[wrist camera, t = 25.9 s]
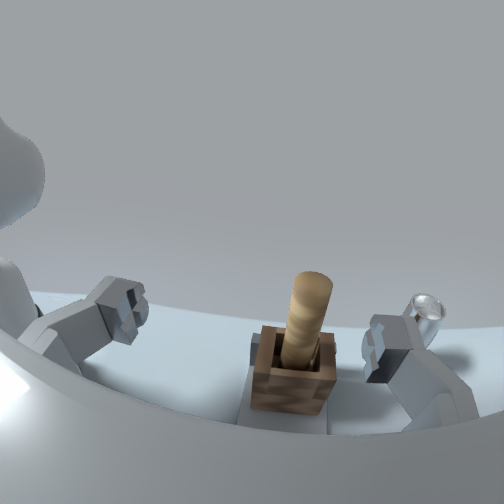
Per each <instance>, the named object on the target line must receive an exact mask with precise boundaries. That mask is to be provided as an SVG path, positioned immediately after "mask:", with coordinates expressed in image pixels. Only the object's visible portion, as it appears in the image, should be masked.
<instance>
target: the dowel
mask: <svg viewBox="0 0 504 504" xmlns="http://www.w3.org/2000/svg"><path fill="white" fill-rule="evenodd" d="M332 288H333V283H332V281H331V280H330V279H329V278H328V277H327V276H325V275H323V274H321V273H318V272H302V273H300V274H298V275H297V276H296V277H295V280H294V286H293V292H292V298H291V304H290V309H289V315H288V321H287V326H286V331H285V336H284V341H283V346H282V351H281V356H280V361H279V366H278V368H279V369H287V370H296V371H307V370H308V367H309V364H310V361H311V358H312V355H313V352H314V349H315V346H316V343H317V340H318V337H319V333H320V330H321V327H322V323H323V320H324V317H325V313H326V310H327V306H328V303H329V299H330V295H331V291H332Z"/></svg>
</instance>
